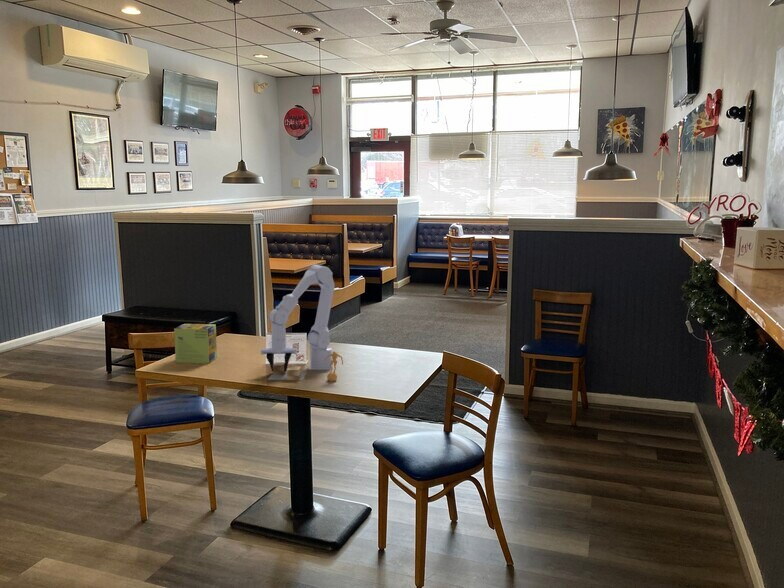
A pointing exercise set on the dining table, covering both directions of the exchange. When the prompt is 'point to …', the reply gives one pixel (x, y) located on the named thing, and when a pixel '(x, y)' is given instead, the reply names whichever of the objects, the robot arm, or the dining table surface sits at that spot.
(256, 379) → the dining table surface
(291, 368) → the oak block
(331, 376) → the figurine
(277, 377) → the mat
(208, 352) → the protein box
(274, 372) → the walnut block
